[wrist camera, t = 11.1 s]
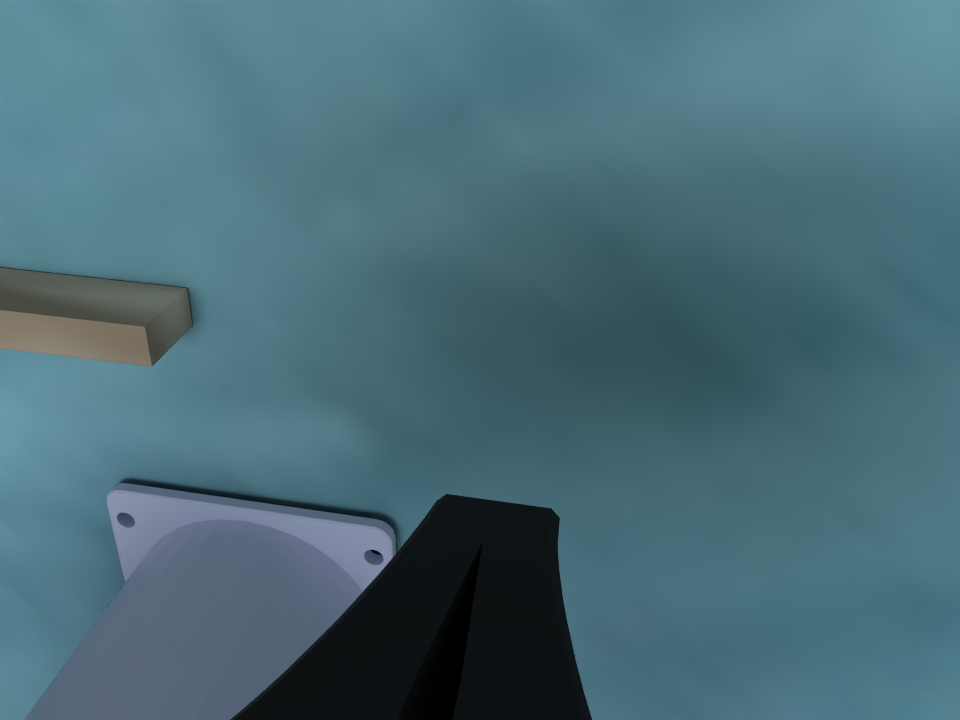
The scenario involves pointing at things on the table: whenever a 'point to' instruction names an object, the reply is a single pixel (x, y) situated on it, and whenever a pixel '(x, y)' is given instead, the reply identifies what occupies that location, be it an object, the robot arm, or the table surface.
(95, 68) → the table surface
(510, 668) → the robot arm
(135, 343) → the open wooden frame
